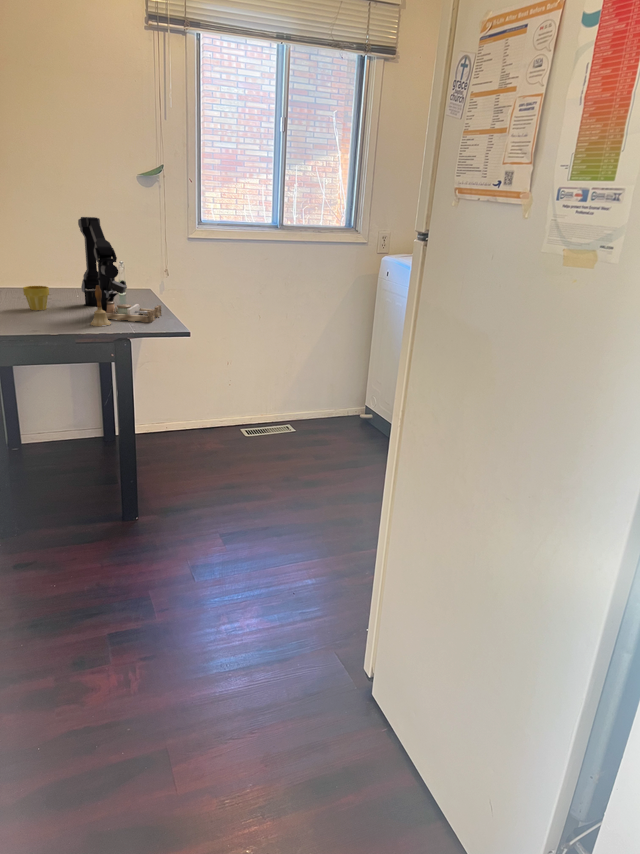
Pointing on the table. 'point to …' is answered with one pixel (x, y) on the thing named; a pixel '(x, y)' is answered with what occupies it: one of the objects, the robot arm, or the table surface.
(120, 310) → the stock jar
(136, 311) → the peg stand
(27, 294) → the plant pot
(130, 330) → the table surface
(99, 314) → the hand bell
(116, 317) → the lane
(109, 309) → the jar
